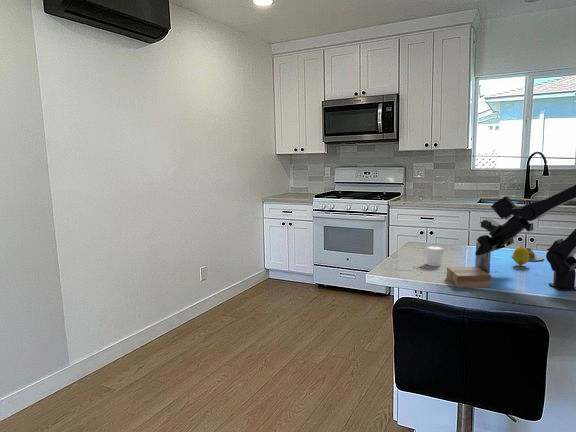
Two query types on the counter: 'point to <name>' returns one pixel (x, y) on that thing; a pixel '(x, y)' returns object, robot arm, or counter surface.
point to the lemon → (521, 255)
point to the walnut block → (468, 277)
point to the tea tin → (482, 260)
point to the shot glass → (434, 255)
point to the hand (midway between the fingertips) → (479, 253)
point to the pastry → (533, 256)
